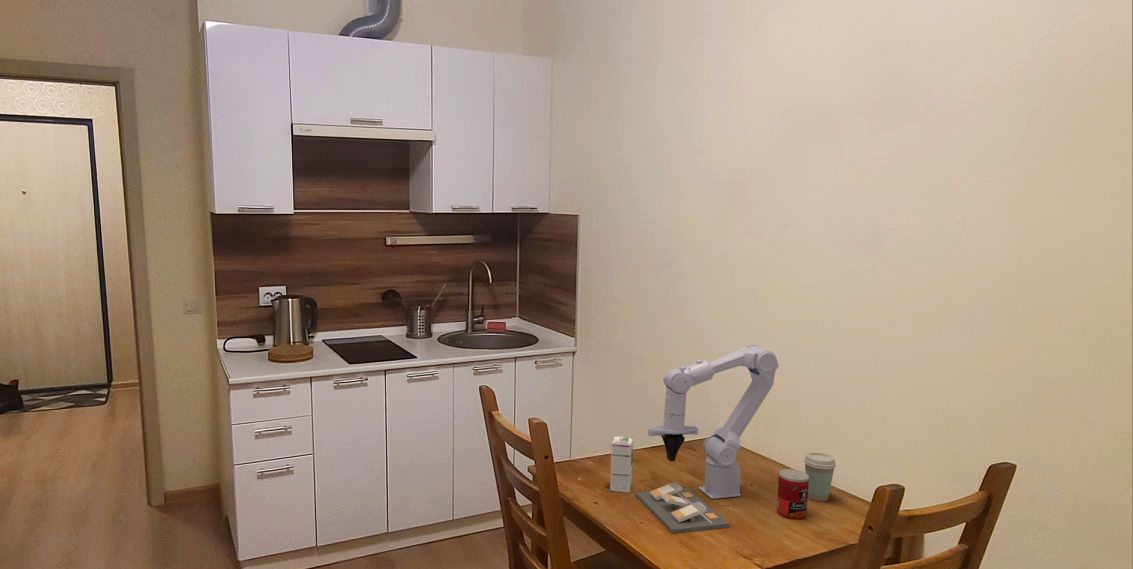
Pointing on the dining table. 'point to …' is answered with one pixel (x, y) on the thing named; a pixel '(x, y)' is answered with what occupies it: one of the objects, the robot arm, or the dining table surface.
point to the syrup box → (621, 464)
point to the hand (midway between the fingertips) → (671, 460)
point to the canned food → (792, 493)
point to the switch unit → (665, 509)
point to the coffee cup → (819, 475)
